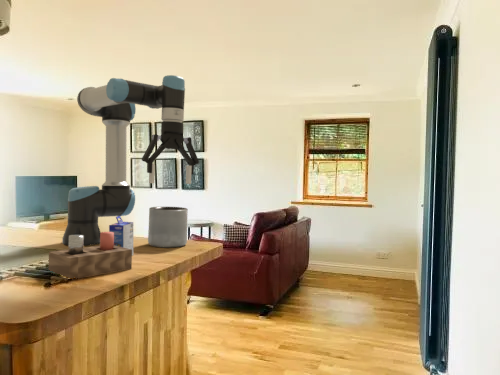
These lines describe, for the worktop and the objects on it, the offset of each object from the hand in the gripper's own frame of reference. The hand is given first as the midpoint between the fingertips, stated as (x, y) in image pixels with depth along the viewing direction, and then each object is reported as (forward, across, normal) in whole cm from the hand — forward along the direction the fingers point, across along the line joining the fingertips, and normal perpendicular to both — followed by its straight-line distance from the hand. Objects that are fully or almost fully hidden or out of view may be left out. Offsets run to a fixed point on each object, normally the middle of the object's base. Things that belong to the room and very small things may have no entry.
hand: (170, 183), depth 141 cm
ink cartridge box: (+27, -13, +10) cm, 32 cm away
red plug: (+21, -22, -3) cm, 31 cm away
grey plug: (+21, -32, -6) cm, 38 cm away
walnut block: (+27, -27, -4) cm, 38 cm away
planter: (+27, +12, +28) cm, 40 cm away
